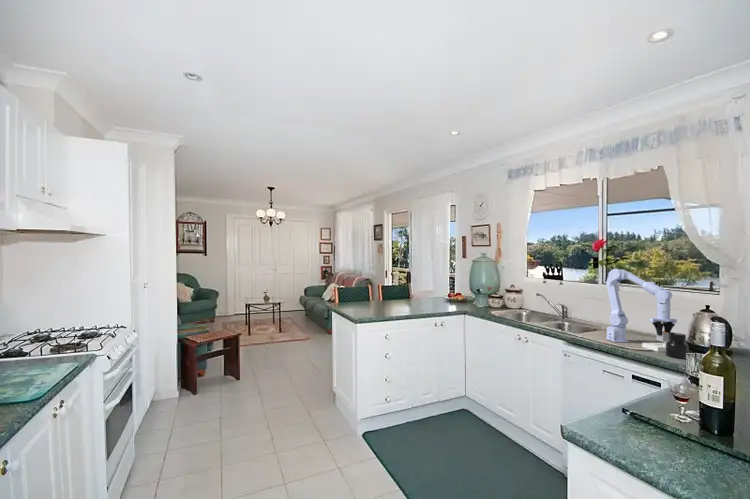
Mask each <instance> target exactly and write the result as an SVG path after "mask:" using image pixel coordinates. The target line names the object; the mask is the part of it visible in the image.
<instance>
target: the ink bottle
mask: <svg viewBox="0 0 750 499" xmlns="http://www.w3.org/2000/svg"><path fill="white" fill-rule="evenodd" d="M669 340H670V341H668V342H666V352H665V356H666V357H670V358H675V359H678V360H686V359H685V357H686V353H688V352H689V351H690V350H689V345H688V344H687V343H686V342H687V334H685V333H681V332H672V331H671V332H669Z"/></svg>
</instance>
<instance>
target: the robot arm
mask: <svg viewBox="0 0 750 499" xmlns="http://www.w3.org/2000/svg"><path fill="white" fill-rule="evenodd" d="M624 280H627V281H628V280H629V281H631V282H633V283H635V284H637V285H639V286H640V287H642V289H643V290H644V291H645V292H647V293H649V294H651V295H652V296H654V297H655V298H656V299H657V302H656V306H657V307H656V317H653V318H651V317H650V319H649V322H650V323H652V325H653V326H654V328H655V331H656V336H657V335H660V336H662V331H664V332H668V333H669V332H672V329H673V327H674V326H675V325H676V324H677V323H678V320H677V319H675V318H671V299H672V298H673V293H672V292H671V291H670V290H669V289H667V288H666V289H665V288H664V287H662V286H660V285H657V284H656V283H655V281H645V280H643V278H640V277H638V275H637V276H636V275H635V274H633V273H631V272H630V271H627V270H626V269H617V268H615V269H614V268H613V269H611V270H610V271H609V272H608V274H607V279H606V283H605V285H606V289H607V293H608V299H609V304H610V307H611V312H610V316H609V322H610V324H611V326H610V325H609V326H607V328H606V337H605V339H606V340H607V341H612V342H613V343H614V342H615V343H630V341H629V340H626V338H627V326H626V325H628V322H629V319H628V317H627V316H626V314H625V312H624V310H623V307H622V304H621V299H620V295H619V294H620V293H619V290H618V285H619V284H620V282H622V281H624ZM663 329H664V330H663Z"/></svg>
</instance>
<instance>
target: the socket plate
mask: <svg viewBox="0 0 750 499" xmlns="http://www.w3.org/2000/svg"><path fill="white" fill-rule="evenodd" d="M641 347H642V348H643V349H648V350H650V349H651V351H654V352H656V353H657V352H658V353H666V343H664V342H660V343H659V342H642V344H641Z"/></svg>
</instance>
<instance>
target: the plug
mask: <svg viewBox="0 0 750 499" xmlns="http://www.w3.org/2000/svg"><path fill="white" fill-rule="evenodd" d="M656 341H658V342H661V343H664V342H668V341H670V340H669V333H668V332H664V330H662V336H660V335H657V334H656Z"/></svg>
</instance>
